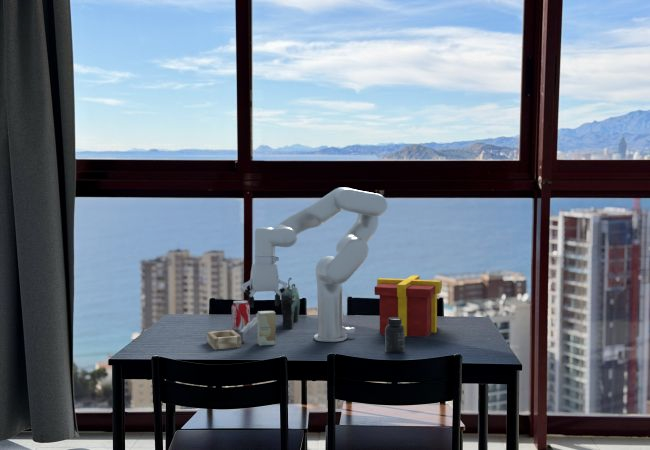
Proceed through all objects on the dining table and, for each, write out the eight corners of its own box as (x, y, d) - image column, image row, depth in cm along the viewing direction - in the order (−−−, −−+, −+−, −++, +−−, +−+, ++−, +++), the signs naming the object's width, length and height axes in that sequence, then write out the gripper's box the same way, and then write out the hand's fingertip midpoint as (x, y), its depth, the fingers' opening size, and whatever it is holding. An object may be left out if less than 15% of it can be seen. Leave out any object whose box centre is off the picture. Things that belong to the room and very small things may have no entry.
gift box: (433, 339, 325) (433, 286, 323) (369, 335, 333) (369, 283, 332) (446, 326, 349) (446, 276, 347) (386, 322, 357) (386, 274, 355)
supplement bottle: (403, 349, 310) (403, 316, 309) (405, 353, 303) (405, 320, 302) (384, 349, 309) (384, 316, 308) (386, 354, 303) (386, 320, 302)
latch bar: (261, 316, 329) (257, 312, 328) (263, 317, 326) (260, 314, 325) (240, 336, 327) (236, 332, 326) (242, 338, 323) (239, 334, 323)
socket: (233, 340, 327) (233, 330, 326) (241, 347, 315) (241, 336, 315) (207, 342, 323) (207, 332, 323) (214, 349, 312) (214, 338, 312)
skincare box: (259, 346, 317) (258, 313, 316) (257, 343, 321) (256, 311, 320) (276, 344, 319) (275, 312, 317) (273, 342, 323) (273, 310, 322)
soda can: (247, 333, 339) (246, 303, 338) (229, 332, 340) (229, 302, 339) (252, 329, 346) (251, 300, 345) (235, 329, 347) (234, 299, 346)
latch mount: (239, 339, 328) (239, 329, 328) (243, 342, 322) (243, 332, 322) (232, 340, 327) (231, 329, 327) (236, 343, 321) (235, 332, 321)
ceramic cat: (293, 330, 344) (292, 280, 342) (277, 329, 345) (276, 280, 343) (302, 320, 364) (301, 273, 362) (287, 319, 365) (286, 273, 363)
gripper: (284, 258, 323) (283, 303, 325) (239, 260, 317) (239, 305, 319) (290, 261, 316) (289, 307, 318) (244, 262, 310) (244, 309, 312)
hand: (264, 306), depth 318 cm, fingers open, 9 cm apart
